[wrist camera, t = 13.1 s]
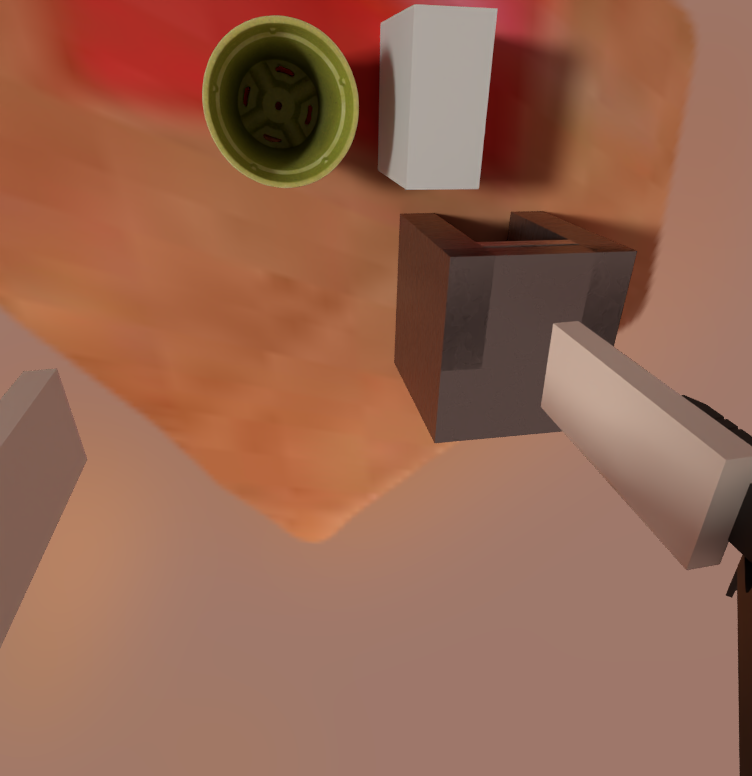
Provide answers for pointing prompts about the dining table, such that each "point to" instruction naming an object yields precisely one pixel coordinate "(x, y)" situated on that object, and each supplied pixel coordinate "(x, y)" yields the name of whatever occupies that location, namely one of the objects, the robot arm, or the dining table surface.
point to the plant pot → (267, 87)
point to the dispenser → (497, 317)
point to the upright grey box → (434, 95)
